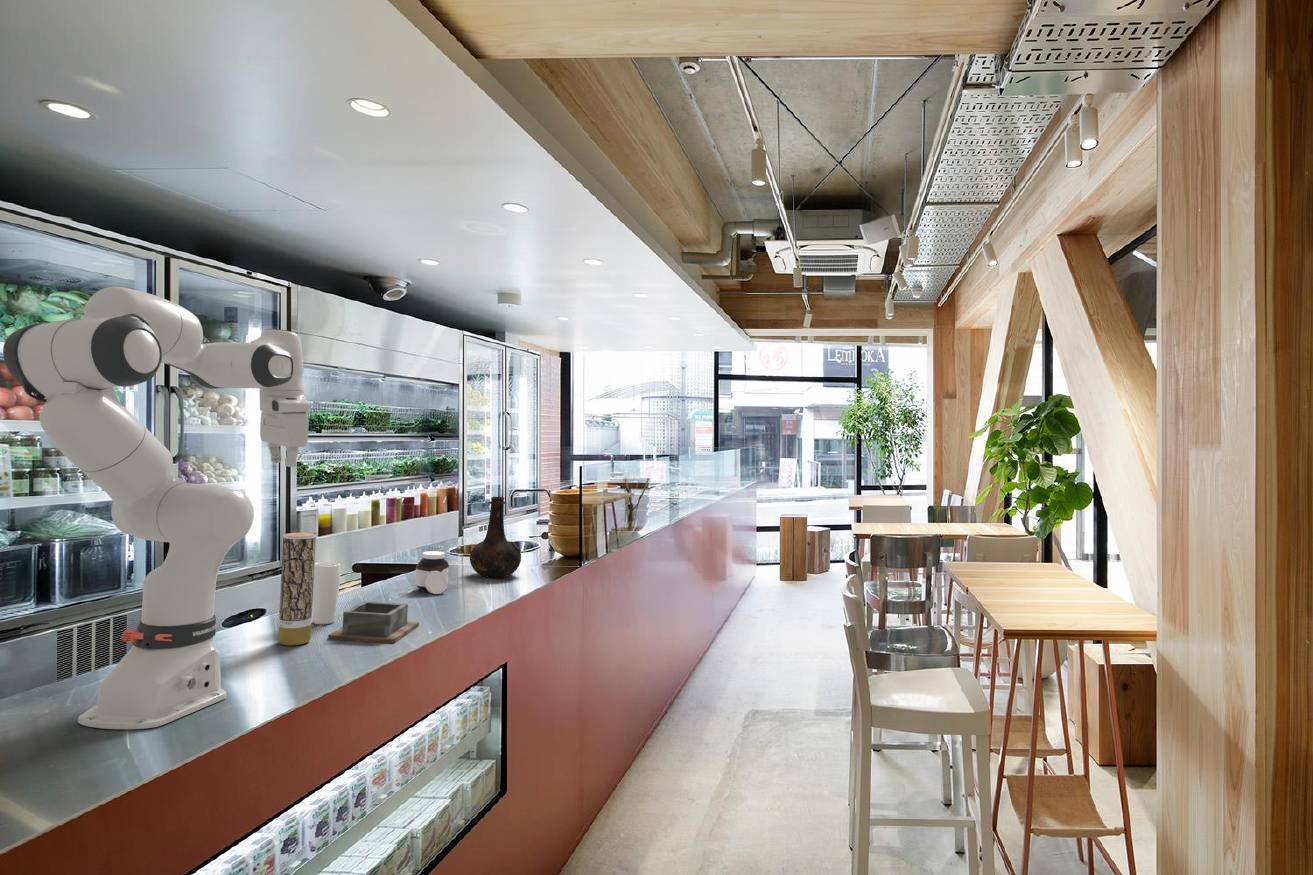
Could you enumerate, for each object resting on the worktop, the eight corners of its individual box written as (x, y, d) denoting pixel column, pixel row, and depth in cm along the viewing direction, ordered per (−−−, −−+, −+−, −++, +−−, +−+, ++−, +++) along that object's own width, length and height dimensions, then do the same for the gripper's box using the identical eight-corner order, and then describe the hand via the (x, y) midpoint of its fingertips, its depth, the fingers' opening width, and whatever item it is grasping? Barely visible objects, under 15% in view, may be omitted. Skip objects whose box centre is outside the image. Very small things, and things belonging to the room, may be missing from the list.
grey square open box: (394, 643, 172) (396, 617, 172) (328, 639, 173) (329, 613, 173) (418, 625, 188) (420, 602, 188) (357, 622, 189) (358, 599, 189)
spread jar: (433, 585, 237) (435, 549, 237) (460, 590, 232) (462, 553, 232) (406, 591, 227) (408, 554, 227) (433, 596, 222) (435, 558, 222)
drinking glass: (343, 621, 189) (346, 563, 189) (322, 627, 182) (325, 567, 182) (325, 617, 191) (328, 560, 191) (302, 623, 185) (306, 564, 185)
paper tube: (297, 647, 165) (302, 537, 165) (271, 644, 166) (276, 535, 166) (316, 640, 172) (322, 534, 172) (291, 637, 173) (296, 531, 173)
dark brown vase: (515, 581, 249) (519, 500, 249) (463, 579, 249) (467, 497, 249) (524, 572, 267) (528, 496, 267) (475, 569, 267) (479, 493, 267)
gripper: (252, 401, 168) (253, 461, 169) (282, 404, 154) (283, 469, 155) (281, 401, 172) (282, 459, 173) (313, 404, 158) (314, 467, 159)
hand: (283, 464), depth 164 cm, fingers open, 8 cm apart
